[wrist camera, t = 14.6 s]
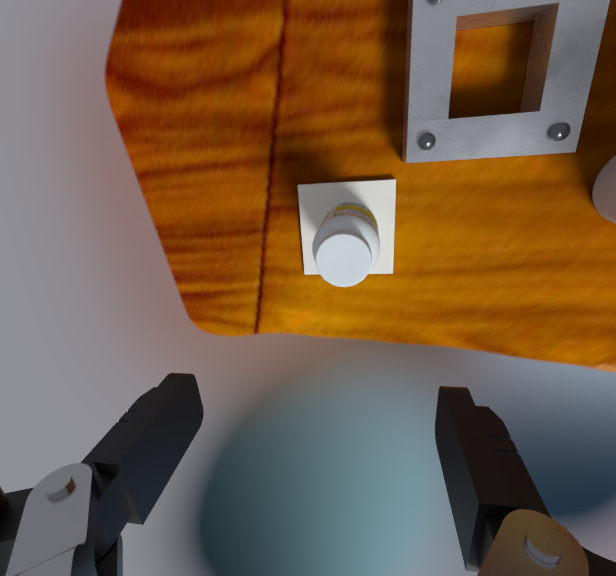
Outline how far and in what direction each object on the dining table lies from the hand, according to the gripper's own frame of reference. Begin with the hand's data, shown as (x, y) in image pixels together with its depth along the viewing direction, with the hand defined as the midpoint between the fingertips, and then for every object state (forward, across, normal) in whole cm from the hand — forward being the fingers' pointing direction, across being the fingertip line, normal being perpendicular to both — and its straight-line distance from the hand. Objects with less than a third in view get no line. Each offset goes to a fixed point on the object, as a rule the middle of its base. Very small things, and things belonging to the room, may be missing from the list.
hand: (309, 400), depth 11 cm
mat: (+24, 0, 0) cm, 24 cm away
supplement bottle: (+24, 0, 0) cm, 24 cm away
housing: (+24, -11, -12) cm, 29 cm away
